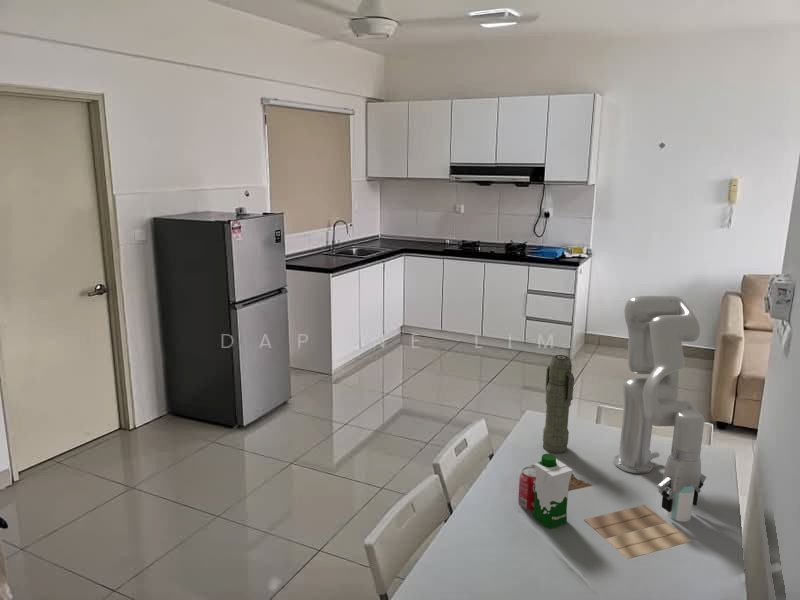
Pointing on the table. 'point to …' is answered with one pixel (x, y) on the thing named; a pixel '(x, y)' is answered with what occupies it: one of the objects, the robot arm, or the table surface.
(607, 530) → the plank
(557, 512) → the milk carton
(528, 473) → the soda can
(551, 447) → the thermos
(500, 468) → the table surface
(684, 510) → the can
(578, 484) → the wooden fragment
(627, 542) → the oak board
